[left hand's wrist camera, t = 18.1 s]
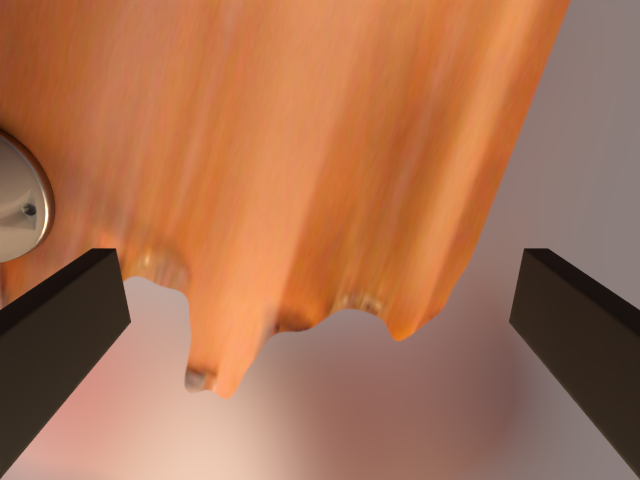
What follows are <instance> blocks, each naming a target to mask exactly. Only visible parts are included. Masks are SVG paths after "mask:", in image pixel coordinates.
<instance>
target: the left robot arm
mask: <svg viewBox="0 0 640 480" xmlns="http://www.w3.org/2000/svg"><path fill="white" fill-rule="evenodd" d="M54 217H55V201H54V195H53V191H52V188H51V185H50V183H49V180H48V178H47V176H46V174H45V172H44V171H43V169H42V167H41V166H40V164H39V163H38V162H37V160H36V159H35V158H34V157H33V156H32V155H31V153H30V152H29V151H28V150H27V149H26V148H25V147H24V146H22V145H21V144H20V143H19V142H18V141H16V140H15V139H13V138H12V137H11V136H9V135H7V134H6V133H4V132H2V131H0V263H1V262H5V261H9V260H13V259H16V258H18V257H20V256H22V255H24V254H26V253H28V252H30V251H32V250H34V249H35V248H36V247H38V246H39V245H40V244H41V243H42V242H43V241H44V240H45V239H46V238H47V236H48V234H49V233H50V231H51V229H52V226H53V222H54ZM130 323H131V320H130V315H129V310H128V305H127V300H126V295H125V290H124V286H123V281H122V276H121V271H120V266H119V261H118V256H117V252H116V248H92V249H91V250H89V251H88V252H86V253H85V254H83V255H82V256H80V257H79V258H77V259H76V260H74V261H73V262H71V263H70V264H68V265H67V266H65V267H64V268H62V269H61V270H59V271H58V272H56V273H55V274H53V275H52V276H50V277H49V278H47V279H46V280H44V281H43V282H41V283H40V284H38V285H37V286H36V287H34V288H33V289H31V290H30V291H28V292H27V293H25V294H24V295H22V296H21V297H19V298H18V299H16V300H15V301H13V302H12V303H10V304H9V305H7V306H6V307H4V308H3V309H1V310H0V479H1V478H2V476H3V475H4V474H5V473H6V472H7V470H8V469H9V468H10V467H11V466H12V464H13V463H14V462H15V461H16V460H17V458H18V457H19V456H20V455H21V453H22V452H23V451H24V450H25V449H26V448H27V446H28V445H29V444H30V443H31V442H32V440H33V439H34V438H35V437H36V435H37V434H38V433H39V432H40V431H41V430H42V428H43V427H44V426H45V425H46V424H47V422H48V421H49V420H50V419H51V417H52V416H53V415H54V414H55V413H56V412H57V410H58V409H59V408H60V407H61V405H62V404H63V403H64V402H65V401H66V400H67V398H68V397H69V396H70V395H71V393H72V392H73V391H74V390H75V389H76V388H77V386H78V385H79V384H80V383H81V382H82V380H83V379H84V378H85V377H86V376H87V374H88V373H89V372H90V371H91V369H92V368H93V367H94V366H95V365H96V363H97V362H98V361H99V360H100V359H101V357H102V356H103V355H104V354H105V353H106V352H107V350H108V349H109V348H110V347H111V345H112V344H113V343H114V342H115V341H116V339H117V338H118V337H119V336H120V335H121V333H122V332H123V331H124V330H125V329H126V327H127V326H128V325H129V324H130ZM509 323H510V324H511V325H512V326H513V327H514V329H515V330H516V331H517V332H518V333H519V335H520V336H521V337H522V338H523V339H524V341H525V342H526V343H527V344H528V345H529V347H530V348H531V349H532V350H533V352H534V353H535V354H536V355H537V356H538V357H539V359H540V360H541V361H542V362H543V364H544V365H545V366H546V367H547V368H548V369H549V371H550V372H551V373H552V374H553V375H554V377H555V378H556V379H557V380H558V381H559V383H560V384H561V385H562V386H563V388H564V389H565V390H566V391H567V392H568V394H569V395H570V396H571V397H572V398H573V400H574V401H575V402H576V403H577V404H578V406H579V407H580V408H581V409H582V410H583V412H584V413H585V414H586V415H587V416H588V417H589V419H590V420H591V421H592V422H593V423H594V425H595V426H596V427H597V428H598V430H599V431H600V432H601V433H602V434H603V436H604V437H605V438H606V439H607V440H608V442H609V443H610V444H611V445H612V446H613V448H614V449H615V450H616V451H617V452H618V454H619V455H620V456H621V457H622V458H623V460H624V461H625V462H626V463H627V464H628V466H629V467H630V468H631V469H632V470H633V472H634V473H635V474H636V475H637V476H638V478H639V479H640V310H639V309H637V308H636V307H634V306H633V305H631V304H630V303H628V302H627V301H625V300H624V299H622V298H621V297H619V296H618V295H616V294H615V293H613V292H612V291H610V290H609V289H607V288H606V287H604V286H603V285H601V284H600V283H599V282H597V281H596V280H594V279H593V278H591V277H590V276H588V275H587V274H585V273H584V272H582V271H581V270H579V269H578V268H576V267H575V266H573V265H572V264H570V263H569V262H567V261H566V260H564V259H563V258H561V257H560V256H558V255H557V254H555V253H554V252H552V251H551V250H549V249H546V248H541V249H540V248H538V249H535V248H533V249H532V248H529V249H528V248H527V249H524V252H523V257H522V261H521V266H520V271H519V276H518V281H517V286H516V291H515V295H514V300H513V305H512V310H511V315H510V319H509Z"/></svg>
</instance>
